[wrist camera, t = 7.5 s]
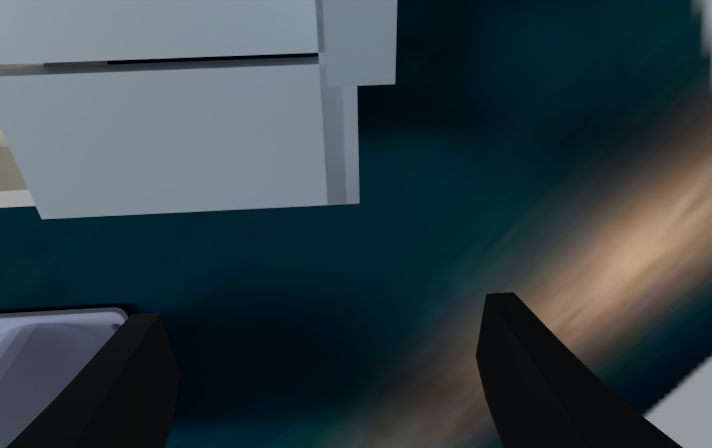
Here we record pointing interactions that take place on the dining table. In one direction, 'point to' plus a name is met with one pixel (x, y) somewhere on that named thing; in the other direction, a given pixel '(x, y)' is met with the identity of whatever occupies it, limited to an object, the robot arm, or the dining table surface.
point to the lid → (189, 102)
